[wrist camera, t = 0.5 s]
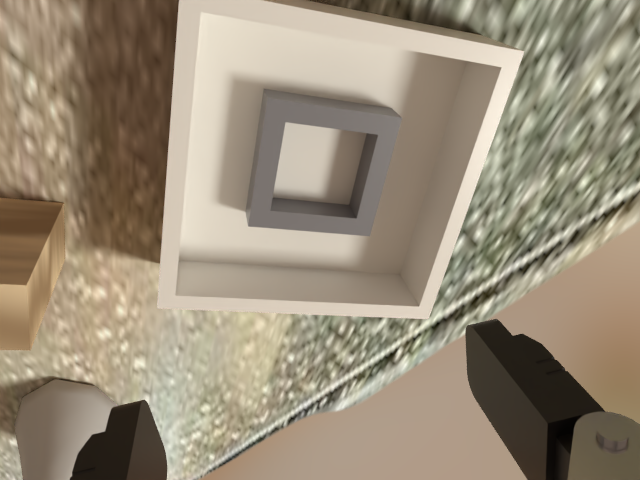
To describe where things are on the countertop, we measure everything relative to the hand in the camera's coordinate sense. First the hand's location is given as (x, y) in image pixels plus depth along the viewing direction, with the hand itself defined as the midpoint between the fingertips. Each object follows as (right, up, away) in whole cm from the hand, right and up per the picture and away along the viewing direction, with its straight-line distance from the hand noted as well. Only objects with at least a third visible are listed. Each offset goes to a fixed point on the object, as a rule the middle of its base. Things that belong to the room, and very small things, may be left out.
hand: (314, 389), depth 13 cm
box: (0, +9, +22) cm, 24 cm away
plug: (-18, +4, +20) cm, 28 cm away
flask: (-19, -10, +28) cm, 36 cm away
